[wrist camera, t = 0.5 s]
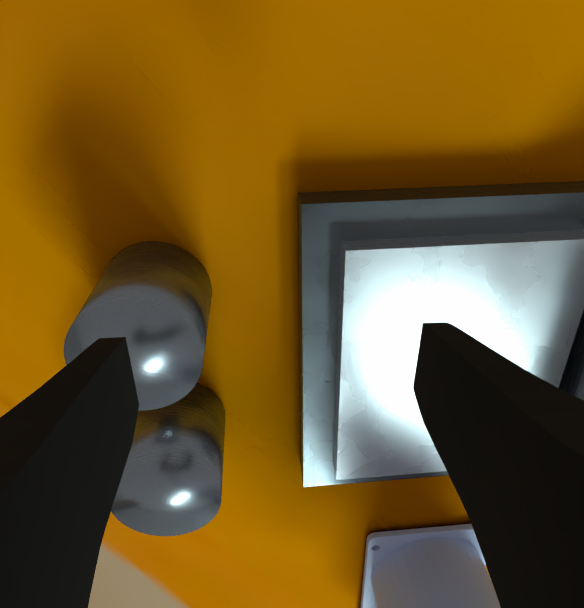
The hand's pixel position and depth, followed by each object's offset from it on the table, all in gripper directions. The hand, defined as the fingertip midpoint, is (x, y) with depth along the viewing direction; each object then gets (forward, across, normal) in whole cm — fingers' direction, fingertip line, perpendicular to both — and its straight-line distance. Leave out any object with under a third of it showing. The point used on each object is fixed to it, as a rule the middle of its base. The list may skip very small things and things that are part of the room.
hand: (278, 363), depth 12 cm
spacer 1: (+9, +5, +2) cm, 10 cm away
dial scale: (+9, -10, +6) cm, 14 cm away
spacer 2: (+9, +4, +9) cm, 14 cm away
